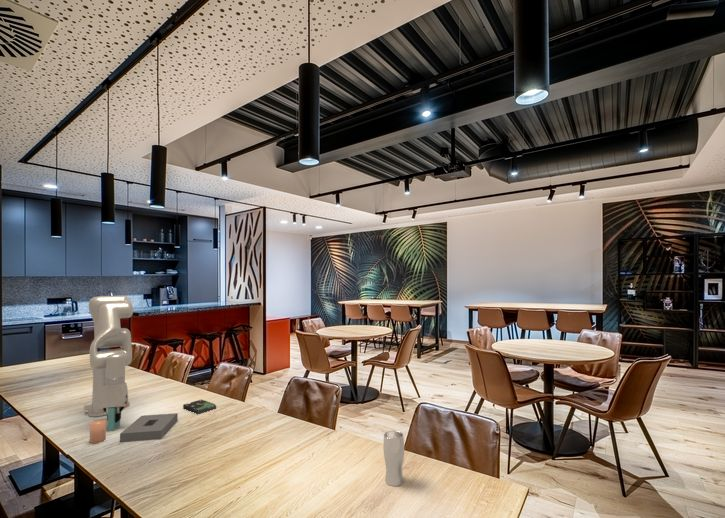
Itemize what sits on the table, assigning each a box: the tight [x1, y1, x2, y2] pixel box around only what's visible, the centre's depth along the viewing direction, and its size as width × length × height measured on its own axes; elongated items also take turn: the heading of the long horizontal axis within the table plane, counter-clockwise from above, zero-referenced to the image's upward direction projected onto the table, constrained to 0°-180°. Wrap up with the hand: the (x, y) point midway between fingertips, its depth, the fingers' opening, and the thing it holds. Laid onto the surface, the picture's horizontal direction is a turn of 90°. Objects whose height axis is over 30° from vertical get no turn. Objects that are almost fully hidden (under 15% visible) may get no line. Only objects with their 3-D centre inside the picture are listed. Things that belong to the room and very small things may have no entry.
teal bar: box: [106, 407, 121, 432], centre depth 163 cm, size 2×6×10 cm, turn 10°
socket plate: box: [119, 412, 179, 443], centre depth 160 cm, size 16×20×4 cm
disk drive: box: [182, 399, 217, 415], centre depth 186 cm, size 10×3×15 cm
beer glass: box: [382, 430, 405, 487], centre depth 118 cm, size 7×7×15 cm
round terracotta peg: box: [89, 418, 107, 445], centre depth 150 cm, size 6×6×8 cm
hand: (113, 421), depth 163 cm, fingers closed on teal bar, 2 cm apart
